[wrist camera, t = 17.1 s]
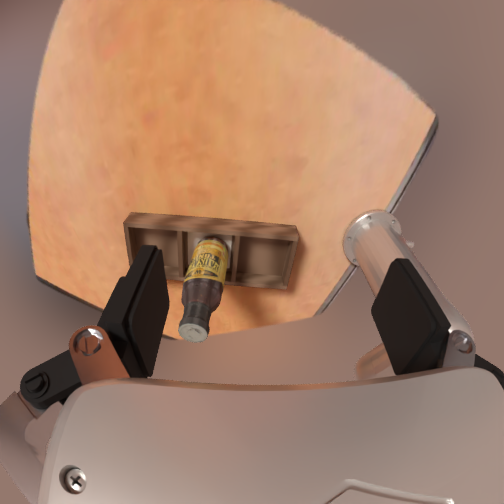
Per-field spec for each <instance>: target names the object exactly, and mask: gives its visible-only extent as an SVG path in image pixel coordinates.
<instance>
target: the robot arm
mask: <svg viewBox="0 0 504 504" xmlns="http://www.w3.org/2000/svg"><path fill="white" fill-rule="evenodd" d="M413 247H414V242H413V241H406V240H405V239H404V238H403V236H402V229H401V226H400V223H399V222H398V220H397V219H396V218H395V217H394V216H393V215H392V214H390V213H388V212H386V211H382V210H373V211H369V212H366V213H364V214H362V215H360V216H359V217H357V218H356V219H355V220H354V221H353V222H352V223H351V224H350V225H349V227H348V228H347V230H346V232H345V235H344V238H343V249H344V253H345V255H346V257H347V258H348V259H349V261H350V262H351V263H353V264H355V265H357V266H360V267H361V269H362V271H363V273H364V275H365V277H366V279H367V281H368V283H369V285H370V287H371V290H372V292H373V293H374V296H375V298H376V299H375V301H374V303H373V306H372V309H371V313H372V316H373V319H374V321H375V323H376V326H377V329H378V331H379V334H380V336H381V338H382V341H383V342H382V343H381V344H379V345H378V346H377V347H375V348H373V349H372V350H371V351H369V352H367V353H366V354H365V355H363V356H362V357H361V358H360V359H359V360H358V361H357V363H356V365H355V368H354V378H355V381H346V382H336V383H320V384H298V385H236V384H215V383H198V382H183V381H173V380H163V379H148V378H147V377H151V376H152V374H153V370H154V366H155V361H156V357H157V353H158V349H159V344H160V341H161V337H162V333H163V329H164V325H165V321H166V318H167V314H168V310H169V295H168V289H167V282H166V275H165V268H164V260H163V253H162V250H161V249H158V247H157V246H156V245H142V246H141V248H140V250H139V251H138V253H137V255H136V257H135V259H134V261H133V263H132V265H131V267H130V269H129V271H128V273H127V275H126V277H123V276H122V277H121V278H120V279H119V280H118V282H117V284H116V286H115V288H114V290H113V292H112V294H111V297H110V299H109V301H108V303H107V305H106V307H105V309H104V311H103V313H102V316H101V318H100V320H99V322H98V325H97V326H95V325H88V326H84V327H82V328H80V329H78V330H77V331H75V332H74V333H73V335H72V336H71V338H70V341H69V350H67V351H65V352H63V353H61V354H59V355H57V356H56V357H54V358H52V359H50V360H48V361H46V362H44V363H42V364H40V365H38V366H36V367H35V368H32V369H31V370H29V371H28V372H27V373H26V374H25V375H24V376H23V378H22V380H21V384H20V391H19V392H18V393H16V392H15V391H14V392H13V393H12V394H11V395H10V396H9V397H8V398H7V399H6V400H5V401H4V402H3V403H2V404H1V405H0V463H1V464H2V466H3V467H4V469H5V470H6V472H7V473H8V474H9V476H10V477H11V479H12V480H13V481H14V483H15V484H16V485H17V487H18V488H19V489H20V491H21V492H22V493H23V495H24V496H25V497H26V498H27V500H28V501H29V502H30V503H31V504H504V373H503V372H502V371H501V370H500V369H499V368H497V367H496V366H494V365H493V364H491V363H489V362H488V361H486V360H485V359H483V358H481V357H480V356H478V355H477V354H475V352H476V346H475V343H474V336H473V332H472V330H471V328H470V326H469V324H468V322H467V321H466V319H465V318H464V317H463V316H462V315H461V313H460V312H459V311H458V310H457V309H456V308H455V307H454V306H453V305H452V304H451V302H450V301H449V300H448V299H447V298H446V297H445V296H444V295H443V293H442V292H441V290H440V289H439V288H438V286H437V285H436V284H435V283H434V281H433V279H432V278H431V277H430V275H429V274H428V272H427V271H426V270H425V268H424V267H423V265H422V264H421V263H420V261H419V260H418V259H417V257H416V256H415V253H414V252H413V251H411V250H410V248H413ZM49 439H50V442H49V446H48V450H47V453H46V445H47V442H48V441H49Z"/></svg>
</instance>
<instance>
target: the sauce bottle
mask: <svg viewBox="0 0 504 504" xmlns="http://www.w3.org/2000/svg"><path fill="white" fill-rule="evenodd" d="M228 257H229V255H228V246H227V244H226V243H225V242H224V241H223V240H222V239H220V238H217V237H213V236H212V237H206V238H204V239H202V240H201V241H199V242H198V244H197V246H196V247H195V250H194V252H193V256H192V259H191V262H190V265H189V268H188V271H187V274H186V277H185V280H184V283H183V291H182V304H183V305H184V307H185V308H184V314H183V318H182V320H181V321H180V324H179V329H178V331H179V334H180V336H181V337H182V338H184V339H185V340H187V341H190V342H202V341H204V340H206V339H207V337H208V334H209V330H210V329H209V320H210V316H211V313H212V312H213V311H215V310H216V309H217V307H218V306H219V304H220V301H221V296H222V293H223V288H224V281H225V275H226V269H227V263H228Z"/></svg>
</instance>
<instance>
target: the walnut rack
mask: <svg viewBox="0 0 504 504" xmlns="http://www.w3.org/2000/svg"><path fill="white" fill-rule="evenodd" d="M123 224H124V232H125V239H126V246H127V253H128V259H129V265H130V267H131V265H132V263H133V261H134V259H135V257H136V255H137V253H138V251H139V250H140V248H141V246H142V245H156V246H157V247H158V249H161V250H162V253H163V260H164V268H165V275H166V279H170V280H179V281H184V280H185V277H186V274H187V271H188V268H189V265H190V262H191V259H192V256H193V252H194V250H195V247H196V246H197V244H198V242H199V241H201V240H202V239H204V238H206V237H212V236H213V237H217V238H220V239H222V240H223V241H224V242H225V243H226V244H227V246H228V255H229V257H228V263H227V269H226V275H225V281H224V285H234V286H247V287H260V288H274V289H287V286H288V282H289V278H290V274H291V269H292V265H293V261H294V257H295V252H296V248H297V244H298V239H299V236H298V232H297V229H296V226H293V225H283V224H273V223H263V222H253V221H242V220H230V219H218V218H206V217H193V216H180V215H166V214H150V213H134V212H131V213H130V214H129V216H128V217H127V218H126V220H125V221H124V222H123Z"/></svg>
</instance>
